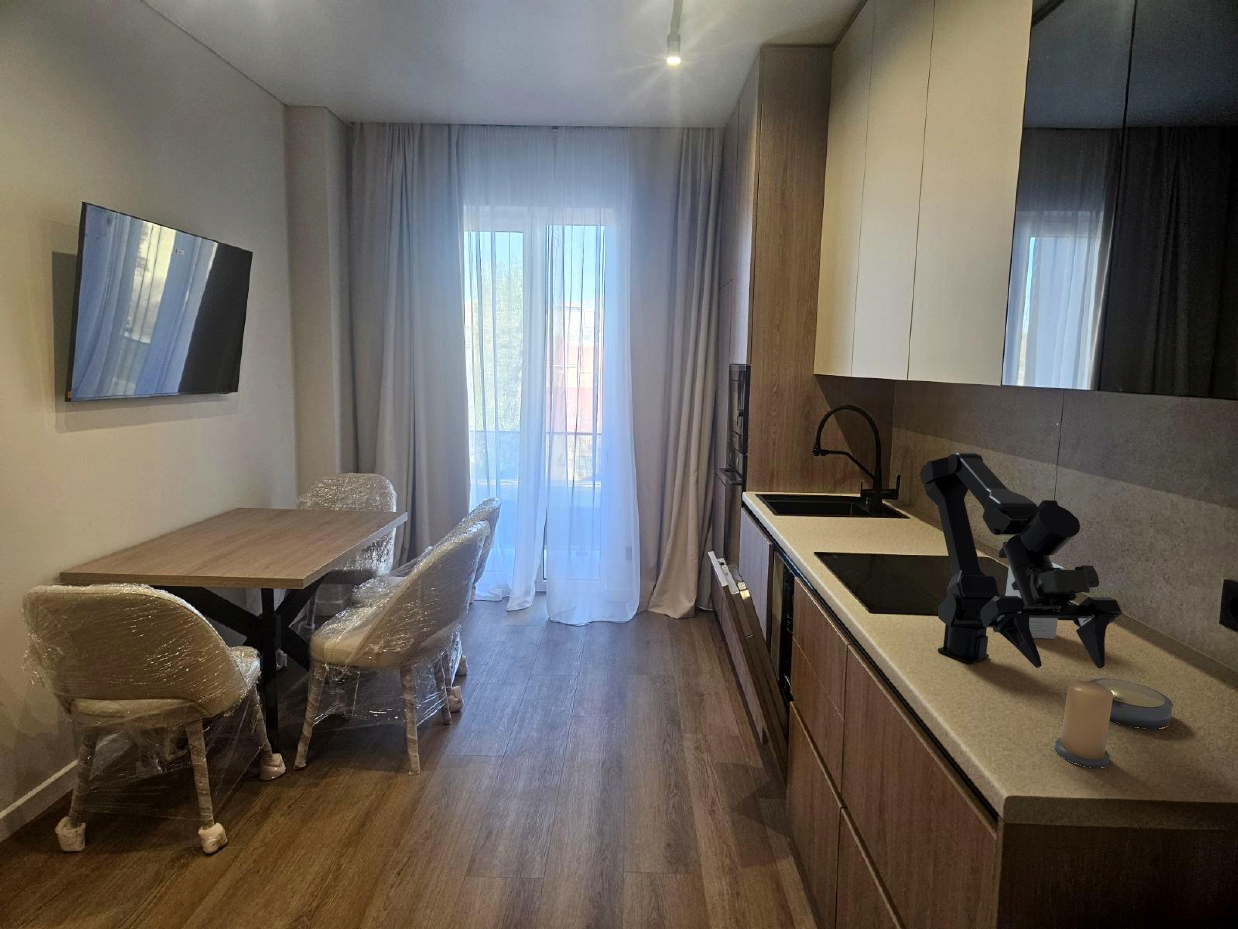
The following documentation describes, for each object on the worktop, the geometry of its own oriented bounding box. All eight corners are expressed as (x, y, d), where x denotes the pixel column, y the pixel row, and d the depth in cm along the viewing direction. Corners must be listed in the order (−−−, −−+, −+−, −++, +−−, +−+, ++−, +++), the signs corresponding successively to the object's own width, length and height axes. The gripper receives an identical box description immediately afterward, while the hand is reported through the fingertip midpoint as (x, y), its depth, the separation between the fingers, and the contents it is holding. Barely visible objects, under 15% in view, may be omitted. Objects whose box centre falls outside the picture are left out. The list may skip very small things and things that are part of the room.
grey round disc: (1071, 705, 115) (1074, 685, 114) (1105, 689, 121) (1108, 671, 120) (1150, 737, 106) (1153, 716, 105) (1182, 718, 111) (1186, 698, 111)
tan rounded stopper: (1045, 751, 101) (1054, 684, 100) (1069, 739, 105) (1077, 674, 103) (1094, 774, 96) (1104, 704, 94) (1117, 760, 99) (1127, 693, 98)
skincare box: (1015, 638, 142) (1023, 566, 140) (999, 627, 148) (1007, 557, 146) (1057, 639, 142) (1066, 567, 139) (1040, 628, 148) (1048, 558, 145)
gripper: (998, 543, 105) (1035, 644, 96) (1122, 545, 106) (1170, 646, 97) (965, 578, 114) (996, 674, 105) (1080, 580, 115) (1121, 675, 106)
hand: (1070, 667), depth 103 cm, fingers open, 9 cm apart
